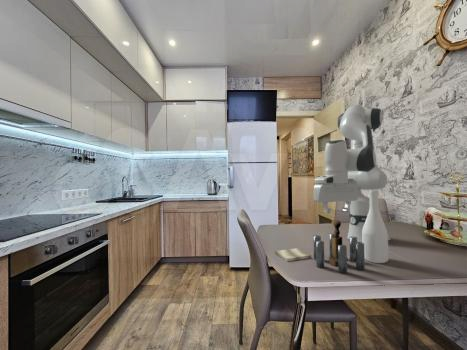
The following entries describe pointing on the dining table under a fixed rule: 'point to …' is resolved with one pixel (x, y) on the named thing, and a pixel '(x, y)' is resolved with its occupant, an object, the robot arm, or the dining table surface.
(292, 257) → the birch board
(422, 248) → the dining table surface
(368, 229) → the wine bottle
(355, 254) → the capsules
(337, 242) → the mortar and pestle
